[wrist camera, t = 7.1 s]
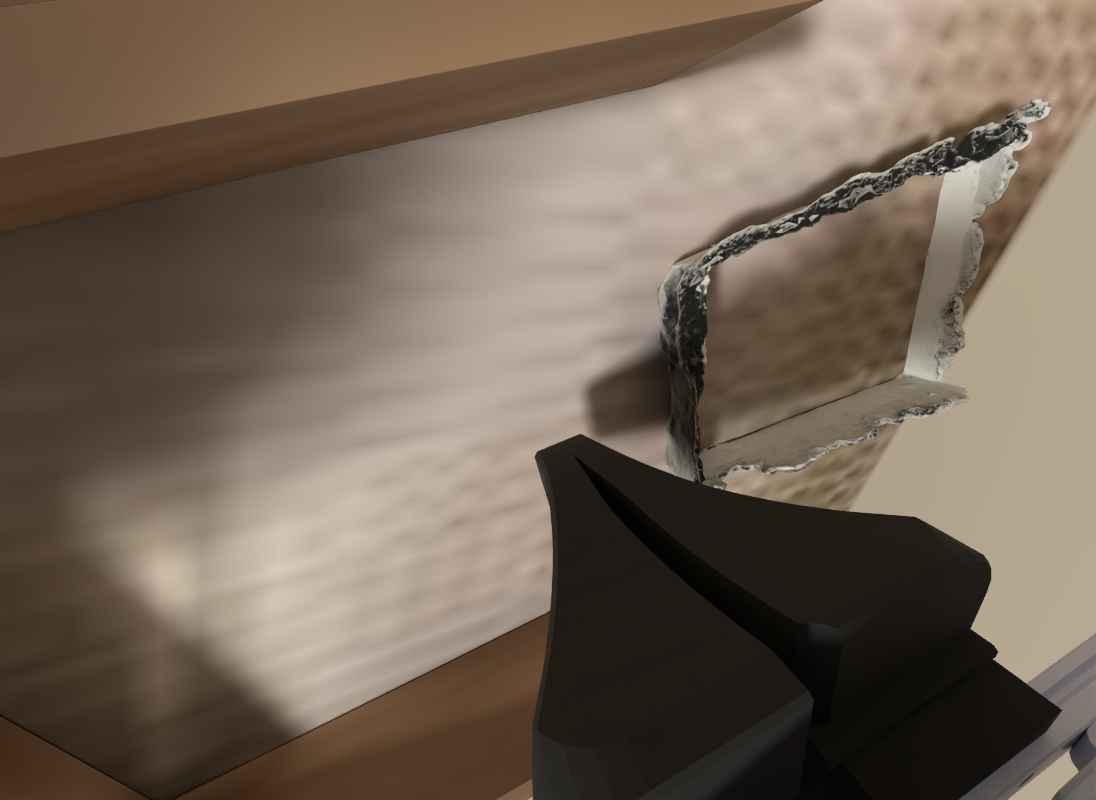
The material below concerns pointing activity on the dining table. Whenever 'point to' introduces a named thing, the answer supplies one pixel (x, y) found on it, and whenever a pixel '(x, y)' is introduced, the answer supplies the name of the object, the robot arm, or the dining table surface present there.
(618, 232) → the dining table surface
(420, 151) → the dining table surface
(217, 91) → the walnut u-shaped frame
